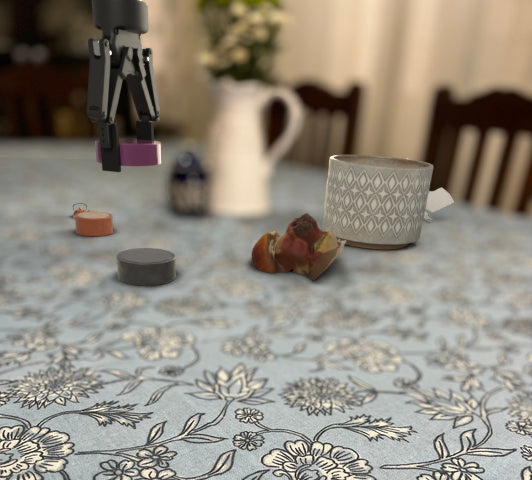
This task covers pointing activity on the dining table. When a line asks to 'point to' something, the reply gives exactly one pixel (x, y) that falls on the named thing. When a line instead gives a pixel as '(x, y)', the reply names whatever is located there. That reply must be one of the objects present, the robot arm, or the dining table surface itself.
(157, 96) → the robot arm
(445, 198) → the figurine
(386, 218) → the planter
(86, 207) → the teapot
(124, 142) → the purple disc
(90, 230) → the terracotta dish
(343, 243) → the reddish lumpy part
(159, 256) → the dark gray disc
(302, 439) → the dining table surface
